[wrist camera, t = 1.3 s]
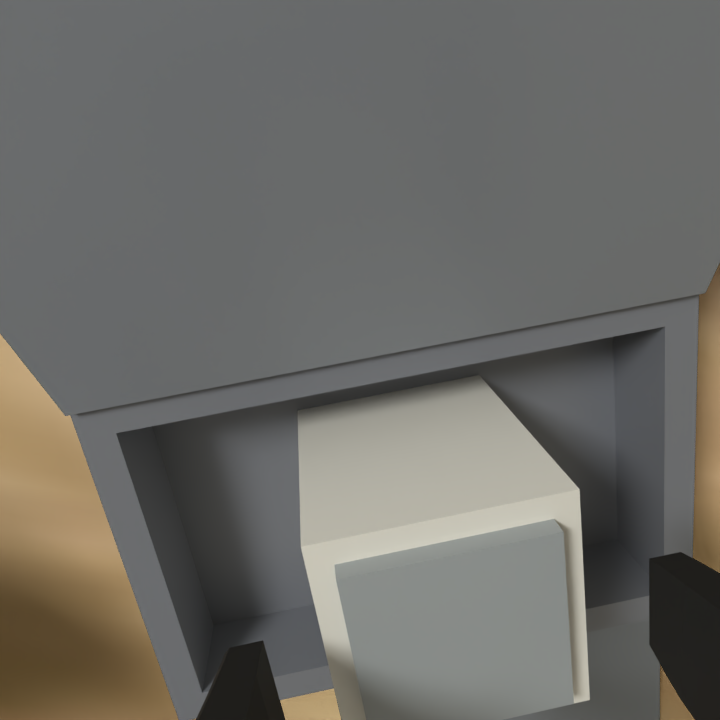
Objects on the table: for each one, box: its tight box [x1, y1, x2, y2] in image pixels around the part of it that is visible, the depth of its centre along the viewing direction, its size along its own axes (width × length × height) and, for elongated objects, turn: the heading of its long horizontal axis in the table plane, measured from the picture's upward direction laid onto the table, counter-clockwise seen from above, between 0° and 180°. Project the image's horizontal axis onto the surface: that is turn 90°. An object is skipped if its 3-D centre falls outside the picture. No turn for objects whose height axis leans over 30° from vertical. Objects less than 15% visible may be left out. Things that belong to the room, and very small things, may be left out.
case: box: [0, 0, 720, 720], centre depth 12 cm, size 17×14×7 cm
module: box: [298, 375, 590, 720], centre depth 14 cm, size 5×5×6 cm
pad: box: [504, 619, 660, 720], centre depth 20 cm, size 7×7×1 cm
